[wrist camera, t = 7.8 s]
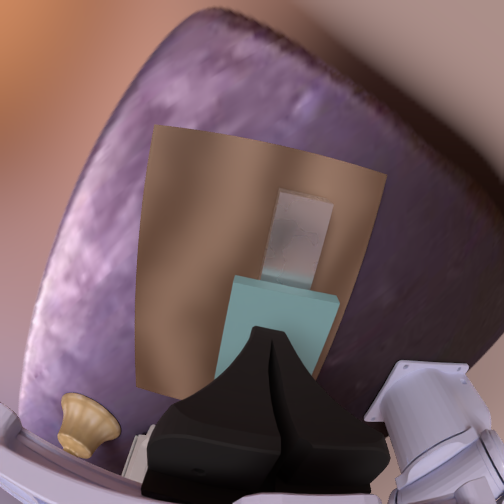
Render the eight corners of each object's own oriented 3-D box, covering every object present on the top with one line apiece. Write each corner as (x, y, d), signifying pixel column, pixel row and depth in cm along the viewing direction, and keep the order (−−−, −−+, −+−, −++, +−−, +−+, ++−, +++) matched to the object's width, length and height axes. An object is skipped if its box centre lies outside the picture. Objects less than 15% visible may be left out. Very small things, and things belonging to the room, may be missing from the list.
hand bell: (110, 444, 30) (70, 537, 15) (58, 409, 29) (4, 495, 14) (130, 422, 28) (81, 536, 13) (68, 380, 27) (-1, 483, 12)
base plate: (381, 173, 18) (387, 174, 17) (296, 412, 25) (296, 420, 25) (159, 125, 18) (154, 124, 17) (139, 380, 25) (136, 386, 24)
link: (285, 363, 22) (286, 380, 20) (233, 354, 22) (231, 371, 20) (334, 200, 18) (342, 206, 16) (270, 185, 18) (271, 189, 16)
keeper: (328, 276, 20) (341, 308, 16) (281, 404, 24) (282, 442, 20) (239, 258, 20) (232, 286, 16) (212, 392, 24) (204, 429, 20)
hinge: (266, 478, 30) (244, 543, 22) (244, 479, 33) (223, 537, 25) (150, 422, 27) (112, 495, 19) (138, 425, 30) (104, 489, 22)
